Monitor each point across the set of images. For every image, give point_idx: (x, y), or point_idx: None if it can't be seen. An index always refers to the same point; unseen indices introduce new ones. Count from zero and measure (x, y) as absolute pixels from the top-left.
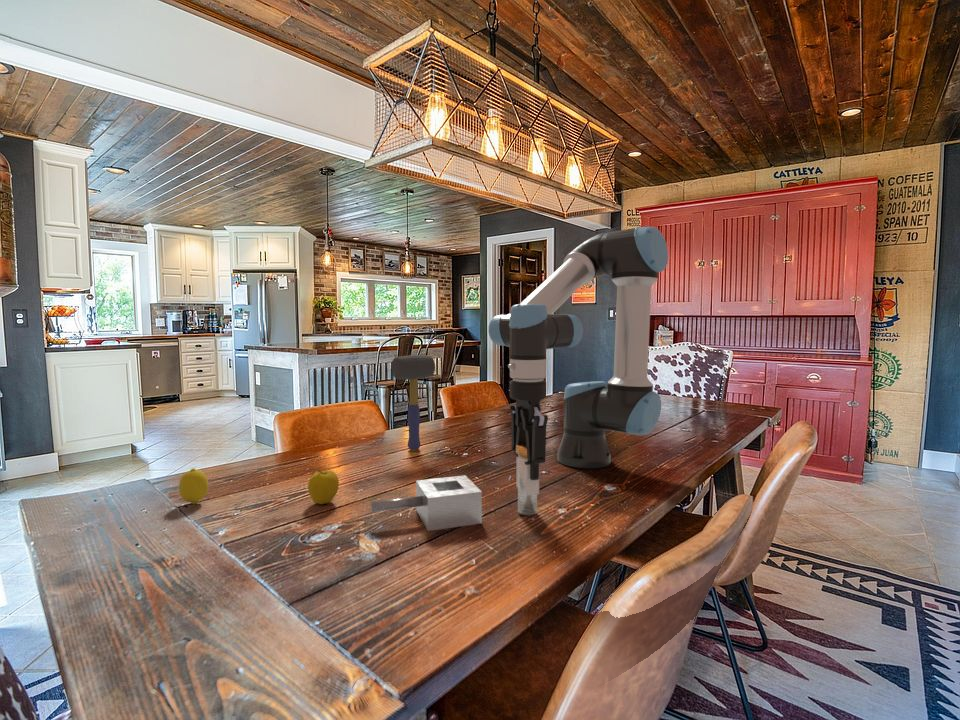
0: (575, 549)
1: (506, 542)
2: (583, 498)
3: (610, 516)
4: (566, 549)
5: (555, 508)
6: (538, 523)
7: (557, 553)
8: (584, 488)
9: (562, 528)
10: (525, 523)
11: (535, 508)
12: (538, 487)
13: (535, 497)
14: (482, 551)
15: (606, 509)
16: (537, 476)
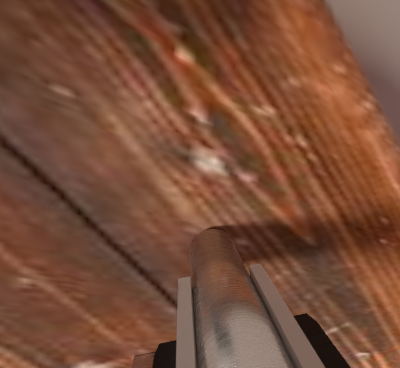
0: (391, 203)
1: (324, 306)
2: (129, 59)
3: (276, 43)
4: (385, 218)
5: (192, 173)
6: (266, 236)
7: (390, 237)
8: (27, 6)
9: (304, 196)
10: (259, 261)
11: (232, 242)
12: (269, 279)
13: (241, 260)
14: (340, 342)
15: (227, 28)
16: (321, 332)
